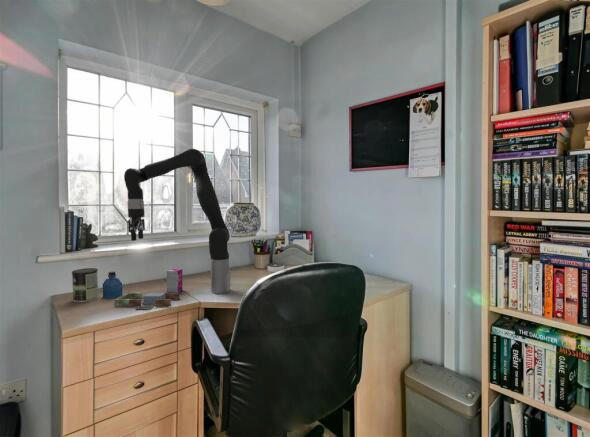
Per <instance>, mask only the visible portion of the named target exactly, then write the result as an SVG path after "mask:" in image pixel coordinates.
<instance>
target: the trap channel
mask: <svg viewBox="0 0 590 437" xmlns="http://www.w3.org/2000/svg"><path fill="white" fill-rule="evenodd" d="M164 293H165V296H166V299H156V300H155V304H154V305H155V306H154V305H142V300H143V296H142V294H143V293H142V292H127V293H125V294H122V296H118V297H116V298H114V307H136V308H135V311H150V310H152V309H153V308H154V307H157V308H158V307H161V308H162V307H163V308H164V306H165V308H166V306H170V307H171V306H172V303H171V302H172V300H173V301H174V300H175V301H176V300H180V299H181V298H180V297H181V295H180V292H177V293H167V292H164Z"/></svg>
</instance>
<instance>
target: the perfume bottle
mask: <svg viewBox="0 0 590 437" xmlns="http://www.w3.org/2000/svg"><path fill="white" fill-rule="evenodd" d="M107 273H108V274H107V277H108V278H105V280H104V281H103V283H102V297H103V298H106V299H110V300H111V299H113V298H114V299H115V298H119V297H121V296H123V283H122V281H121V280H120V278H118V277H117V274H116V271H109V272H107Z"/></svg>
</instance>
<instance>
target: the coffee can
mask: <svg viewBox="0 0 590 437" xmlns="http://www.w3.org/2000/svg"><path fill="white" fill-rule="evenodd" d="M98 271H99V269H98V268H96V267H86V268H79V269H74V270H72V271H71V277H72V302H74V303H86V302H91V301H95V300H97V299H99V285H98V284H99V282H98V276H99V275H98Z"/></svg>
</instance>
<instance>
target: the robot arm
mask: <svg viewBox="0 0 590 437" xmlns="http://www.w3.org/2000/svg"><path fill="white" fill-rule="evenodd" d="M187 167H190V169H191V172H192V173H193V176H194V179H195V180H194V181H195V192H196V196H197V199H198V202H199V206H200V208H201V210H202V211H203V213H204V214H205V216H206V218H207V219H208V221H209V224H210V228H211V232H210V233H209V236H208V250H209V256H210V283H211V285H210V292H211V293H212V294H217V295H220V294H228V293H229V292H230V291H231V290H232V289H231V272H230V253H229V251H228V250H229V249H228V242H229V241H230V238H231V236H230V235H231V234H230V231H229V229H228V227H227V225H226V222H225V219H224V217H223V215H222V210H221V206H220V203H219V200H218V196H217V194H216V190H215V189H214V188H215V187H214V185H213V182H212V180H211V178H210V174H209V172H208V171H209V170H208V166H207V162H206V157H205V155H204V154H203V153H202V151H199V150H198V149H196V148H188V149H187V150H184V151H182V152H180V153H178V154H176V155H173V156H172V157H169V158H165V159H163V160H162V159H161V160H159V161H156V162H152V163H149V164H145V166H144V167H141V168H134V167H133V168H132V167H130V168H127V169H126V170H125V172H124V175H123V180H124V184H125V187H126V190H127V217H128V218H131V219H128V221H127V222H128V223H127V224H128V225H127V226H128V228H127V230H128V233H129V234H130V237H131V241H134V242H135V241H137V236H138V240H142V239H144V231H145V230H146V224H145V223H146V222H145V219H144V218H145V217H146V216H145V200H144V191H143V189H142V187H141V186H140V183H144V182H147V181H149V180H151V179H154V178H157V177H160V176H161V177H162V176H163V175H166V174H169V173H170V172H173V171H174V170H177V169H181V168H187ZM137 231H138V232H137ZM137 234H138V235H137Z"/></svg>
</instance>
